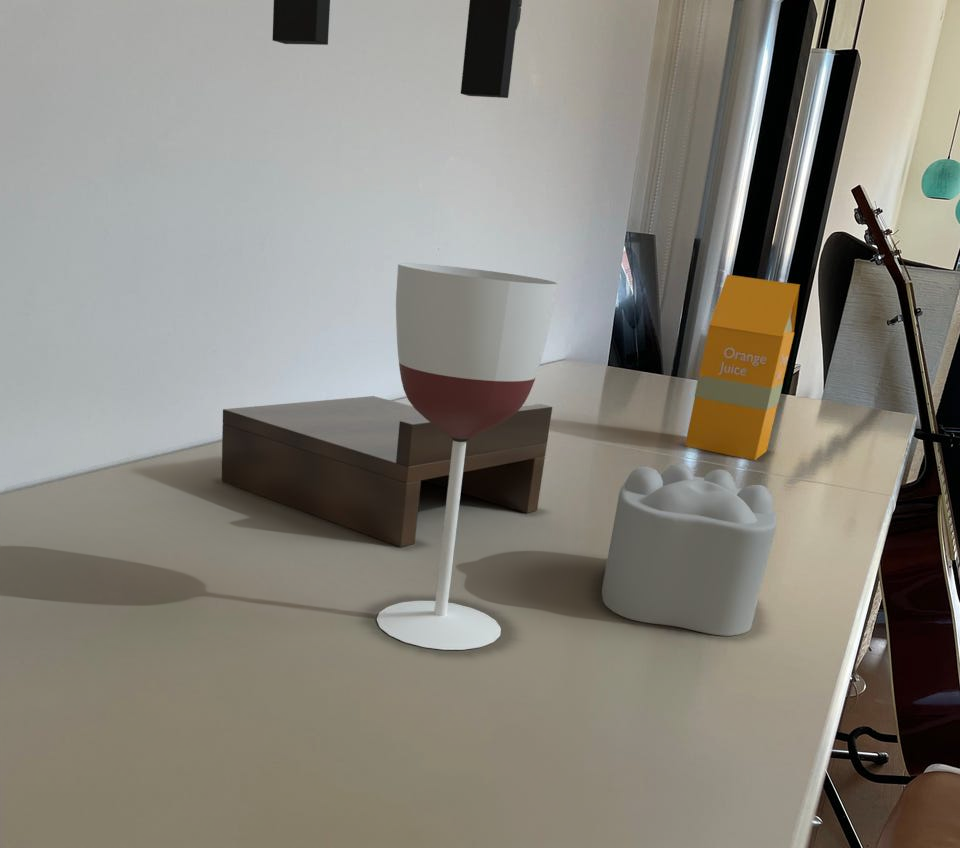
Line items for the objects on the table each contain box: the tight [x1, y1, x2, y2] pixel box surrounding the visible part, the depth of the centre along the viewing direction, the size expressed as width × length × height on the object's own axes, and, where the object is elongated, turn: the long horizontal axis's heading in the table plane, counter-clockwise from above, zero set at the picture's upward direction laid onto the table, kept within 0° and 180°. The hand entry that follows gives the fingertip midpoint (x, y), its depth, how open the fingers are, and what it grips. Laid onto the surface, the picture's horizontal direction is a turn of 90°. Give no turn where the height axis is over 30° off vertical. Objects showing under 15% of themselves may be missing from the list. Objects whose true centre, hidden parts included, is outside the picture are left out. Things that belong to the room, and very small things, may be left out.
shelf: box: [221, 395, 553, 548], centre depth 82 cm, size 20×18×9 cm
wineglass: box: [376, 262, 558, 651], centre depth 56 cm, size 8×9×20 cm
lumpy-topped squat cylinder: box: [601, 463, 777, 637], centre depth 68 cm, size 10×13×9 cm
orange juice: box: [684, 274, 801, 461], centre depth 119 cm, size 8×9×20 cm
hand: (401, 73), depth 49 cm, fingers open, 13 cm apart
